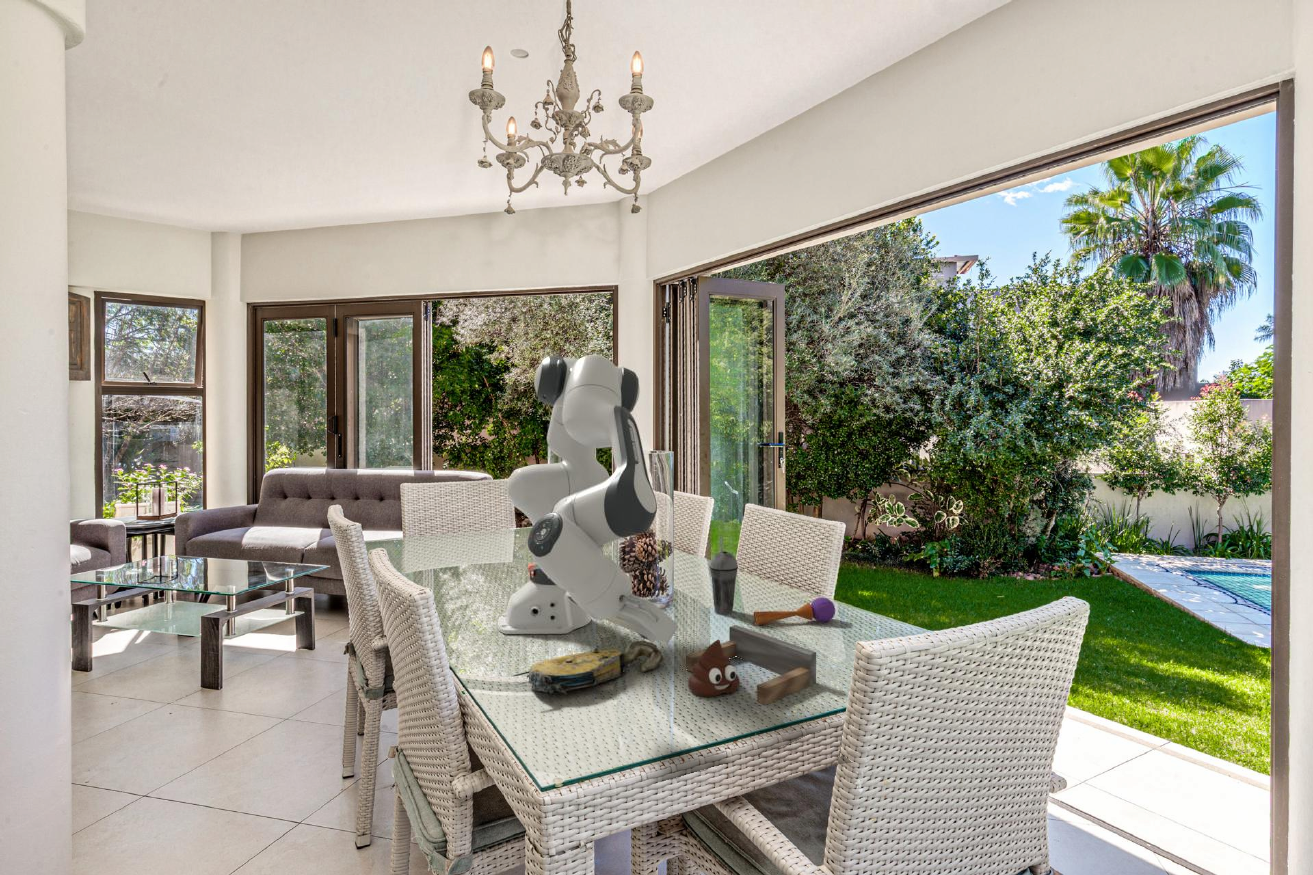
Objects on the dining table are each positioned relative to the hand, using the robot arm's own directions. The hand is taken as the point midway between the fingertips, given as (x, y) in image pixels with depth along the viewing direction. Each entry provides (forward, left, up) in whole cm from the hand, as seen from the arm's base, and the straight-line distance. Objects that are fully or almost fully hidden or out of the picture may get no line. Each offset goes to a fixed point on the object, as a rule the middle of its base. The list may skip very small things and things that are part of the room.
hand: (650, 636), depth 119 cm
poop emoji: (+14, +8, -14) cm, 21 cm away
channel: (+22, +12, -14) cm, 29 cm away
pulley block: (-8, +18, -14) cm, 24 cm away
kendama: (+43, +41, -14) cm, 61 cm away
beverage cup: (+29, +52, -14) cm, 61 cm away
